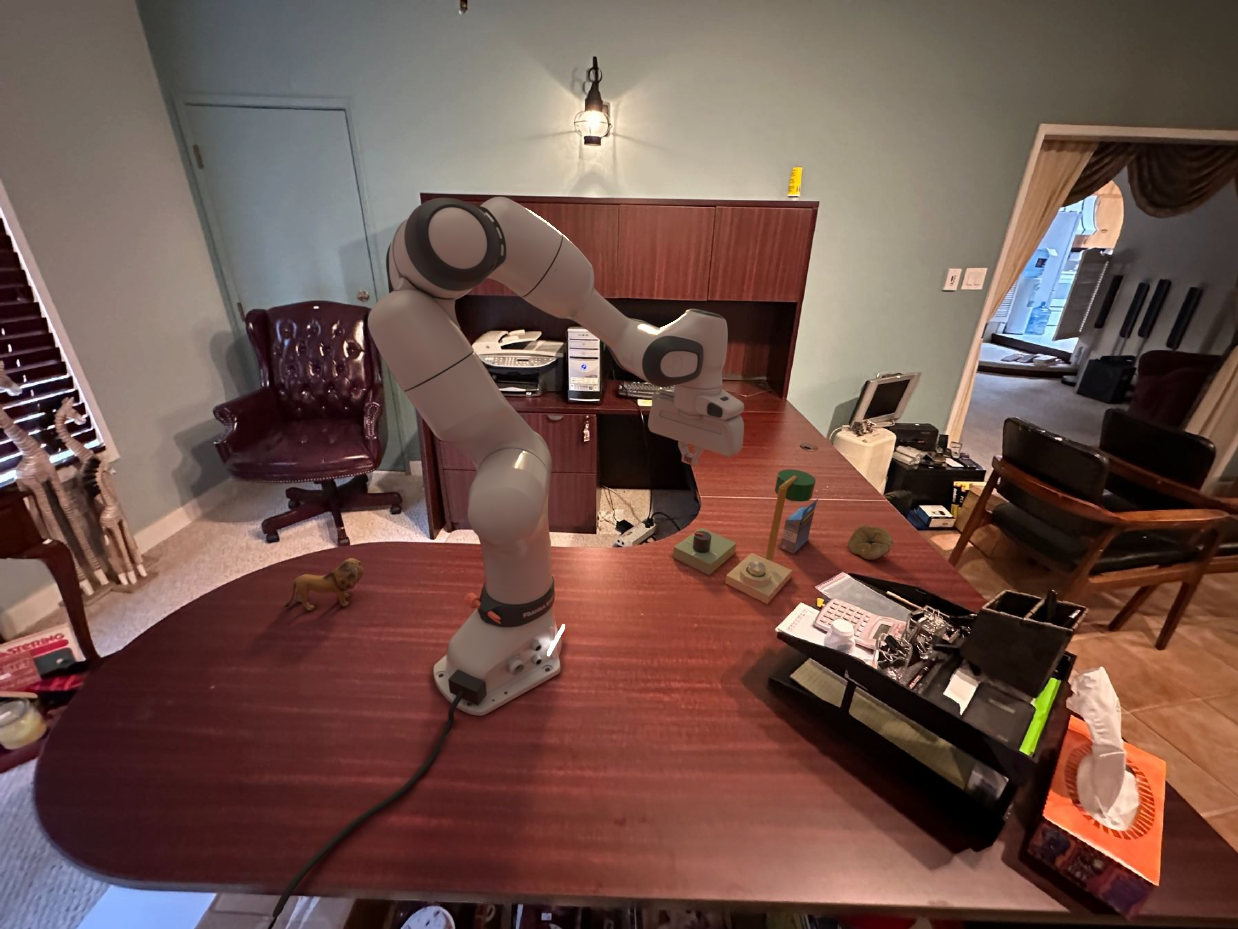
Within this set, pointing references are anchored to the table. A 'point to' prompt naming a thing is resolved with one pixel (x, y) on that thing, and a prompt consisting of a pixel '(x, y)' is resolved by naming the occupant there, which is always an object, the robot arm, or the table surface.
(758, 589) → the lamp base
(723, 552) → the dimmer panel
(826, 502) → the table surface
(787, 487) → the lamp
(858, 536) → the fossil
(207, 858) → the table surface
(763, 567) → the lamp button
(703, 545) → the dimmer knob
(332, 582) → the lion figurine
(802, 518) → the blue box
